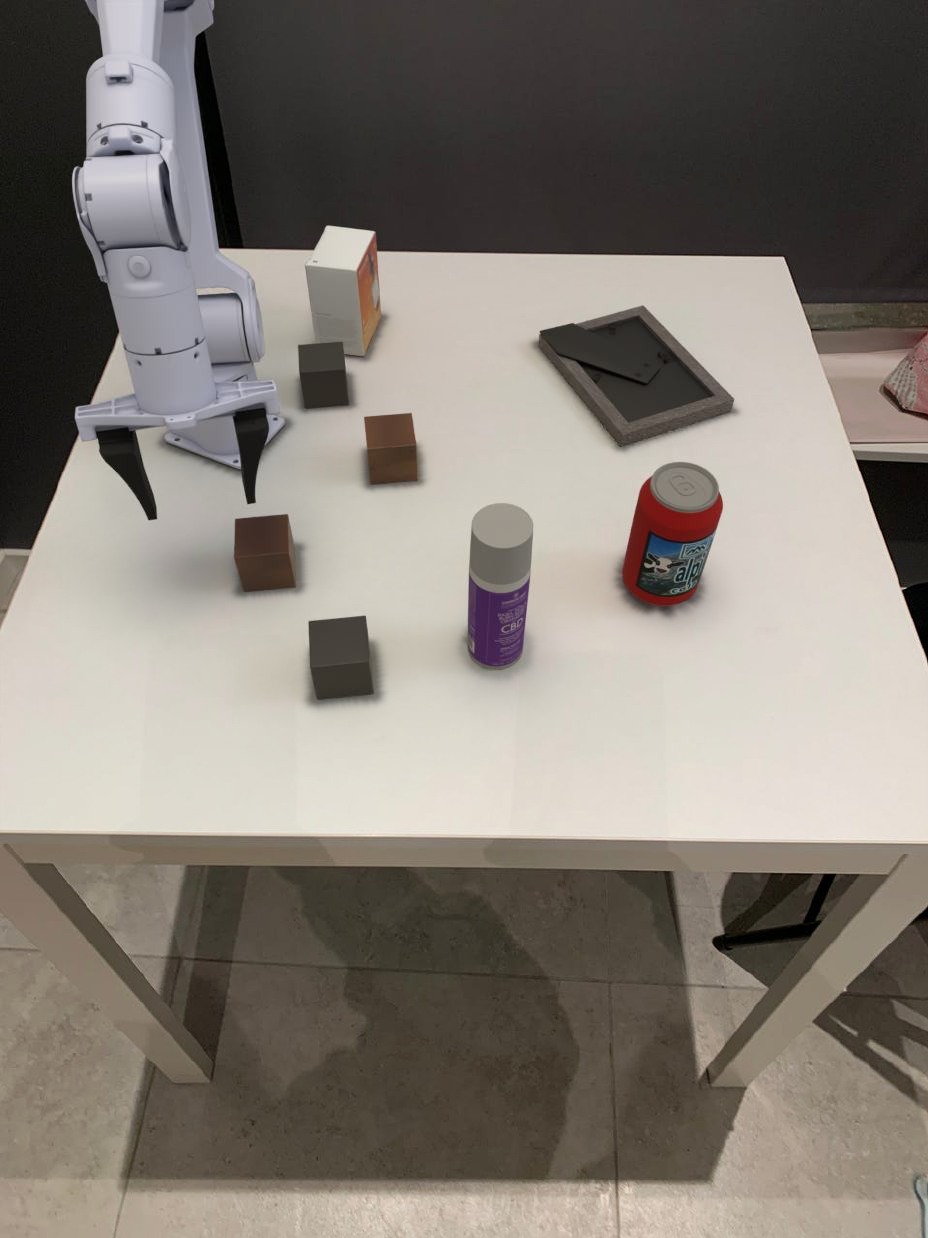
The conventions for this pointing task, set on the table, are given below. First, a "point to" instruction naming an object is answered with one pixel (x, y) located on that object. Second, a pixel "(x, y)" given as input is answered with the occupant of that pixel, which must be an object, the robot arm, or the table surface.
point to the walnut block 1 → (265, 552)
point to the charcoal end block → (323, 374)
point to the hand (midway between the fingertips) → (201, 505)
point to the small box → (344, 288)
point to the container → (498, 584)
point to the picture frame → (634, 374)
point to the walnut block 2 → (391, 448)
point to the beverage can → (672, 533)
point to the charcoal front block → (340, 657)
